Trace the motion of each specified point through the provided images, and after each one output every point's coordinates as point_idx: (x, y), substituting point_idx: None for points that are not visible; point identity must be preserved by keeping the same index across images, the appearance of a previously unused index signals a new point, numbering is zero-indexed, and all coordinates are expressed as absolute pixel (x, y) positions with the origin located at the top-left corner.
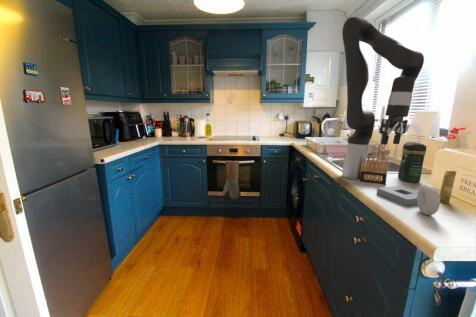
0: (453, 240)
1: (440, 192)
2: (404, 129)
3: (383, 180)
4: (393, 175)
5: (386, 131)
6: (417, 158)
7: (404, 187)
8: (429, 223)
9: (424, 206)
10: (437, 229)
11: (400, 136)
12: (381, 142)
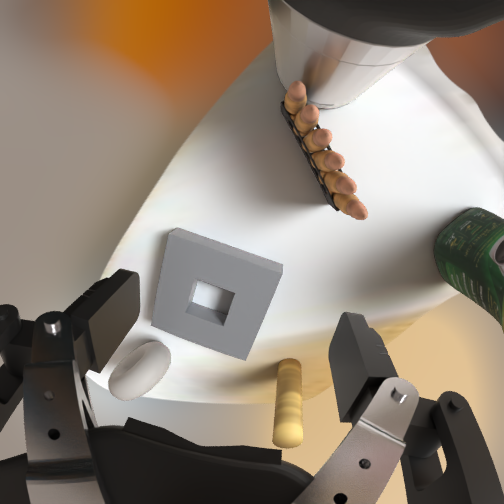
0: (98, 377)
1: (284, 376)
2: (406, 485)
3: (327, 197)
4: (485, 186)
5: (18, 380)
6: (494, 312)
7: (269, 293)
8: (117, 355)
9: (124, 359)
10: (108, 364)
11: (351, 415)
12: (102, 282)
